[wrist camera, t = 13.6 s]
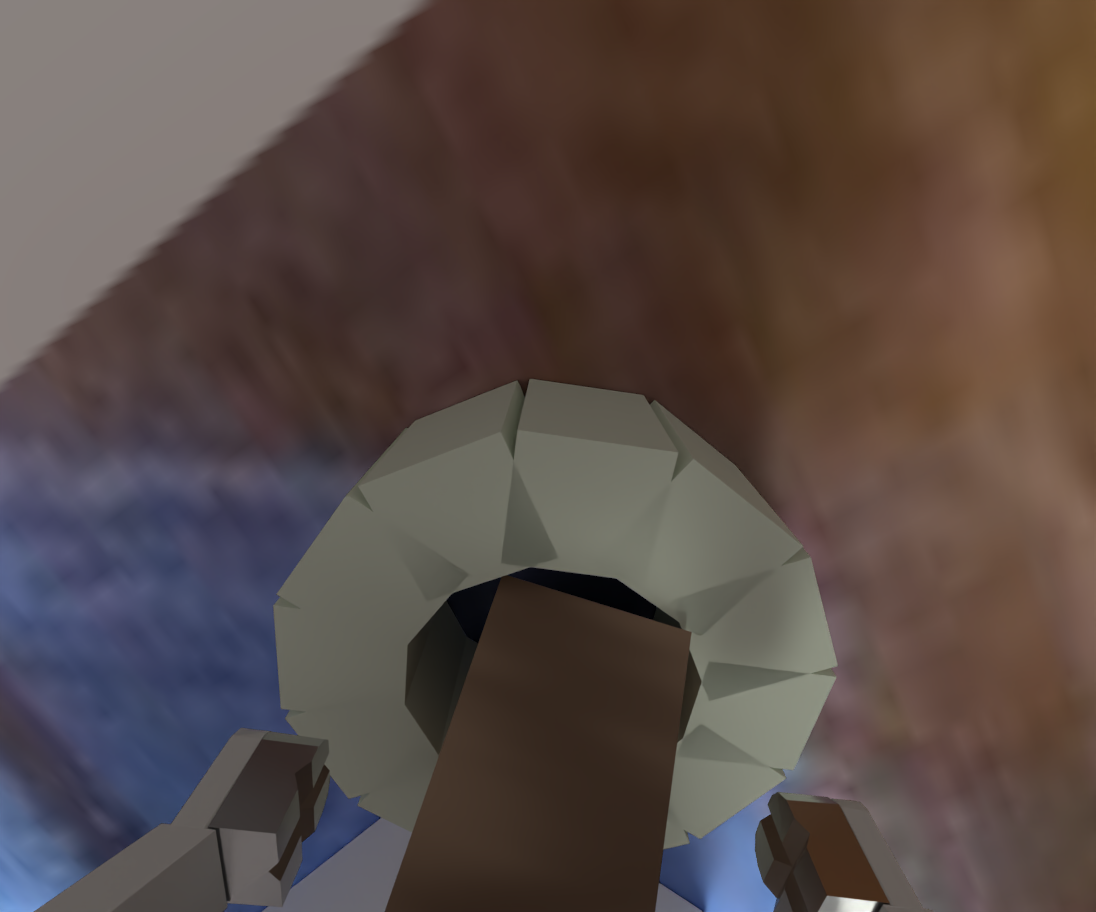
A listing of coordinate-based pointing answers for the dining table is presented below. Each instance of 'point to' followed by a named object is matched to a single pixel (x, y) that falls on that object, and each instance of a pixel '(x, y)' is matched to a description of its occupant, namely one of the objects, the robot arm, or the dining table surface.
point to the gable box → (382, 877)
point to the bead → (563, 545)
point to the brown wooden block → (552, 764)
